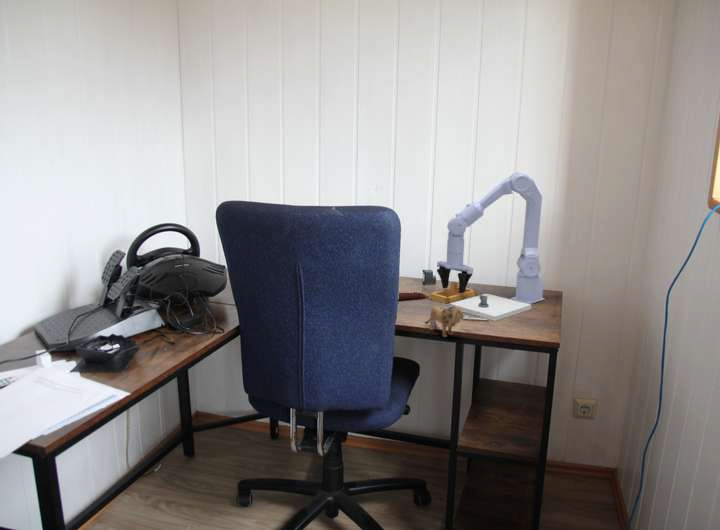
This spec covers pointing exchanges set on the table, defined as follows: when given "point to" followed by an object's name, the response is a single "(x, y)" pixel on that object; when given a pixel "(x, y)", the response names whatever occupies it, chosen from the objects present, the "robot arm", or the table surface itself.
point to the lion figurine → (445, 318)
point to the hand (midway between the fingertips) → (453, 290)
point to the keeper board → (491, 306)
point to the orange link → (452, 294)
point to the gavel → (412, 296)
